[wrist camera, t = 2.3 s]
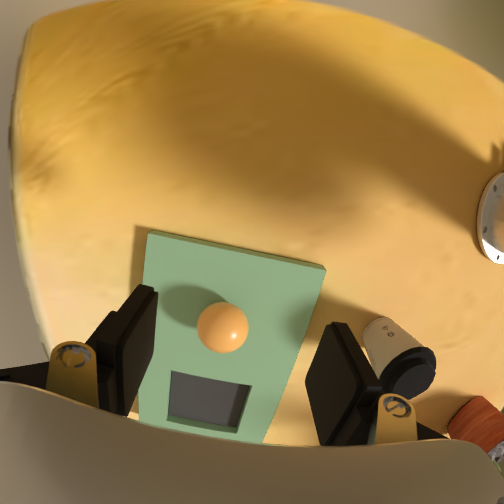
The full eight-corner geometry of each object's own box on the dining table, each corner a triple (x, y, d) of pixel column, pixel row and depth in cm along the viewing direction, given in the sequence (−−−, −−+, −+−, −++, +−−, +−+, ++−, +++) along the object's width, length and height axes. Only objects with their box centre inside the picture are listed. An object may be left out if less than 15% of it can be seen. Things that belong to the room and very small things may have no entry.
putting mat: (152, 229, 30) (147, 233, 28) (323, 265, 31) (326, 270, 30) (141, 414, 37) (139, 421, 36) (260, 437, 39) (261, 444, 37)
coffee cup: (346, 355, 35) (372, 411, 25) (362, 306, 33) (398, 356, 23) (393, 355, 35) (425, 404, 25) (410, 309, 33) (452, 353, 23)
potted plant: (420, 440, 42) (482, 574, 8) (473, 383, 38) (566, 513, 5) (457, 443, 44) (513, 548, 11) (502, 393, 41) (577, 494, 7)
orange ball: (204, 289, 30) (197, 312, 25) (253, 299, 30) (254, 323, 26) (197, 330, 31) (190, 357, 26) (243, 339, 32) (242, 367, 27)
